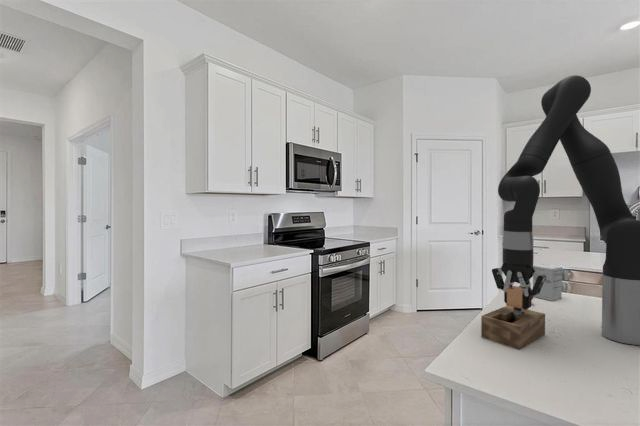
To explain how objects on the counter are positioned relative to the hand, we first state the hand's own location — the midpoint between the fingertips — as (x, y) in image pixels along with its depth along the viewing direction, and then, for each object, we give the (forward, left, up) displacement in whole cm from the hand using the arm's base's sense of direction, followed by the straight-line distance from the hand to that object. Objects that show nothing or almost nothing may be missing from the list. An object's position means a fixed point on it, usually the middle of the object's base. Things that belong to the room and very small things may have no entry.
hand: (517, 306), depth 94 cm
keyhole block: (0, +2, -8) cm, 8 cm away
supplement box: (+9, -47, -8) cm, 49 cm away
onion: (+11, -32, -8) cm, 35 cm away
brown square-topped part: (0, 0, -8) cm, 8 cm away
